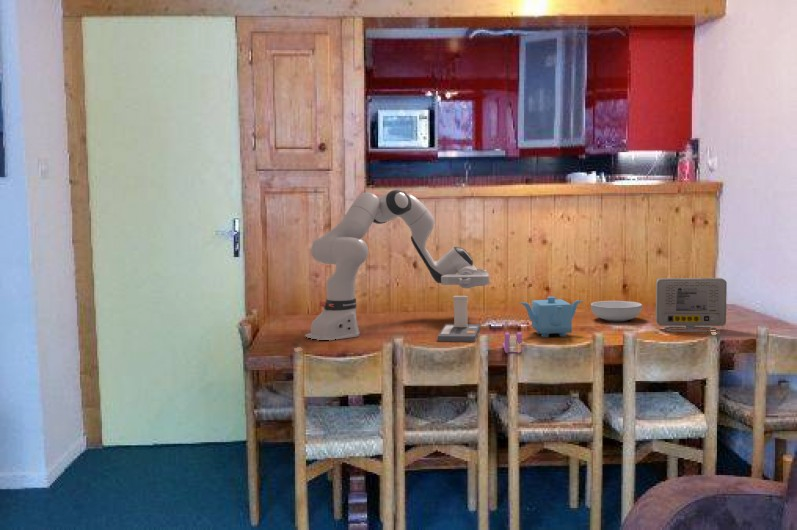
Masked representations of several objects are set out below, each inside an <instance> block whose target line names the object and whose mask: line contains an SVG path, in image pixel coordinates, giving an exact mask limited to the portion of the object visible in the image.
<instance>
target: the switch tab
mask: <svg viewBox="0 0 797 530" xmlns="http://www.w3.org/2000/svg"><path fill="white" fill-rule="evenodd" d="M468 299H469V296H468V295H453V296H452V301H453V318H454V321H453V324H454V327H467V324H468Z"/></svg>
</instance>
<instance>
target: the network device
mask: <svg viewBox="0 0 797 530" xmlns="http://www.w3.org/2000/svg"><path fill="white" fill-rule="evenodd" d="M727 284H728V282H727V281H726V279H725V278H722V277H668V278H667V277H663V278H661V277H660V278H659V277H658V278H657V279H656V281H655V322H656V323H657V324H658V326H660V327H661V326H662V327H664V331H666V332H671V333H672V332H673V333H674V332H677V333H678V332H680V333H682V332H683V333H687V332H689V333H690V332H691V333H700V332H701V333H708V332H707V331H710V330H717V331H718V329H717V328H716V327H723V326H725V325H726V323H727V294H728V293H727Z"/></svg>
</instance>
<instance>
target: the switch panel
mask: <svg viewBox="0 0 797 530" xmlns="http://www.w3.org/2000/svg"><path fill="white" fill-rule="evenodd" d="M480 331H481V323H467V327H454V323H445V324H444V326H443V328H442V329H441V330H440V331H439V333H438V335H437V342H458V343H459V342H460V343H461V342H464V343H465V342H471V343H472V342H474V343H475V342H476V339H477V337H478V335H479V333H480Z"/></svg>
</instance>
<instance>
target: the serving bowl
mask: <svg viewBox="0 0 797 530" xmlns="http://www.w3.org/2000/svg"><path fill="white" fill-rule="evenodd" d="M590 308H591V312H592V313H593V315H594V316H596V317H597V318H600V319H602V320H605V321H607V322H614V323H615V322H617V323H618V322H620V323H621V322H627V321H628V320H633V319H635V318H636V317H638V316H639V315H640V314H641V311H642V309H643V304H642V303H640V302H636V301H628V300H627V301H625V300H624V301H623V300H604V301H603V300H602V301H594V302H591V303H590Z"/></svg>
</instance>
